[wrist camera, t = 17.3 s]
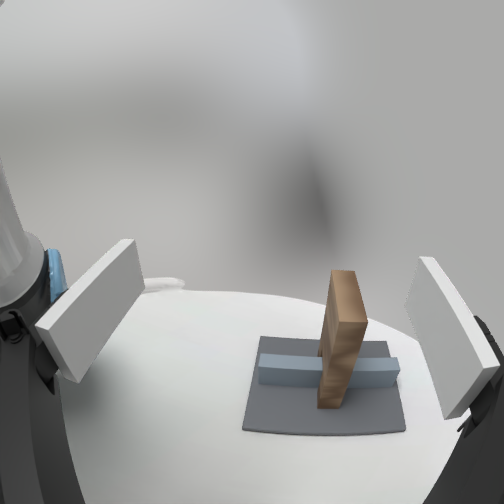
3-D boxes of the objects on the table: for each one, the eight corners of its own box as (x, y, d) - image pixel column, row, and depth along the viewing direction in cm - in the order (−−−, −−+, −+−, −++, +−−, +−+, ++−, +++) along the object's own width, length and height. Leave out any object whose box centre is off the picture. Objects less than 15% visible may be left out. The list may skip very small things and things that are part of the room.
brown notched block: (317, 408, 34) (339, 321, 27) (317, 356, 43) (331, 269, 36) (338, 409, 34) (368, 322, 27) (335, 357, 43) (354, 271, 36)
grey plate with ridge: (242, 429, 33) (240, 412, 30) (260, 338, 48) (260, 318, 46) (404, 430, 30) (417, 413, 27) (385, 343, 45) (392, 323, 43)
